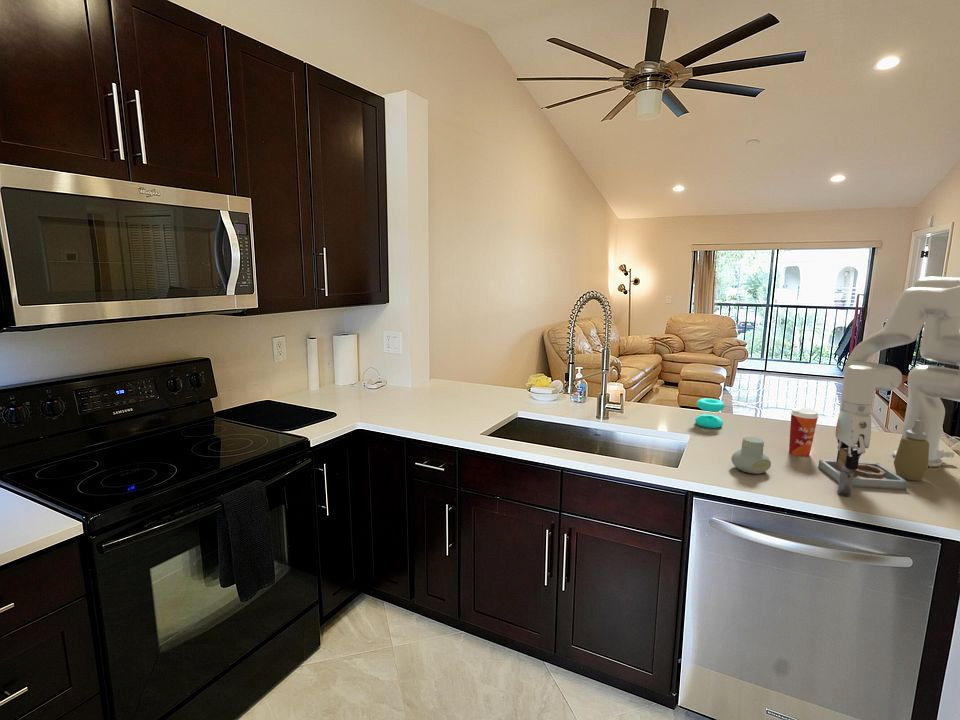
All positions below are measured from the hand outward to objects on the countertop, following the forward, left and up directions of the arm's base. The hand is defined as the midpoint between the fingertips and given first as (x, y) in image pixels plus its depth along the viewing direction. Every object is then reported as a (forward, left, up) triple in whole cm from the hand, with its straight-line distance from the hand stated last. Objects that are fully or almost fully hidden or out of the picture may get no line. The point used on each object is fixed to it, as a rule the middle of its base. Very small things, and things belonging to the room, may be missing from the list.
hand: (846, 465), depth 156 cm
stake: (+7, +13, -4) cm, 15 cm away
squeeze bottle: (-19, -3, -4) cm, 20 cm away
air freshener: (+27, -1, -4) cm, 27 cm away
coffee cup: (+5, -19, -4) cm, 20 cm away
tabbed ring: (-4, 0, -2) cm, 5 cm away
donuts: (+27, -46, -4) cm, 53 cm away
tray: (-4, 0, -4) cm, 6 cm away
